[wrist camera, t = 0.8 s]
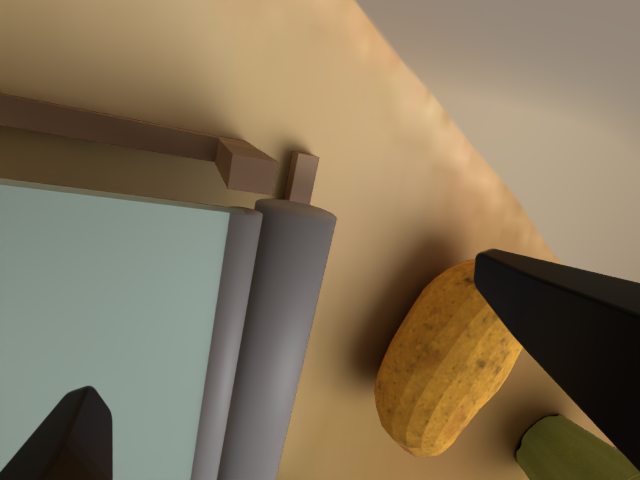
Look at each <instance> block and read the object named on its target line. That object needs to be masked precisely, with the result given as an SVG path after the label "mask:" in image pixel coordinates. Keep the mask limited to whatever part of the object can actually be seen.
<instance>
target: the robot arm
mask: <svg viewBox="0 0 640 480" xmlns="http://www.w3.org/2000/svg"><path fill="white" fill-rule="evenodd" d="M473 280H474V284H475V287H476V288H477V290H478V291H479V293H480V294H481V295H482V297H483V298H484V299H485V300H486V302H487V303H488V304H489V306H490V307H491V308H492V310H493V311H494V312H495V314H496V315H497V316H498V317H499V319H500V320H501V321H502V323H503V324H504V325H505V327H506V328H507V329H508V330H509V332H510V333H511V334H512V335H513V336H514V338H515V339H516V340H517V341H518V342H519V343H520V344H521V345H522V346H523V348H524V349H525V350H526V351H527V352H528V353H529V354H530V355H531V356H532V357H533V358H534V359H535V360H536V361H537V363H538V364H539V365H540V366H541V367H542V368H543V369H544V370H545V371H546V372H547V373H548V374H549V375H550V376H551V378H552V379H553V380H554V381H555V382H556V383H557V384H558V385H559V386H560V387H561V388H562V389H563V390H564V391H565V393H566V394H567V395H568V396H569V397H570V398H571V399H572V400H573V401H574V402H575V403H576V404H577V405H578V406H579V408H580V409H581V410H582V411H583V412H584V413H585V414H586V415H587V416H588V417H589V418H590V419H591V420H592V421H593V423H594V424H595V425H596V426H597V427H598V428H599V429H600V430H601V431H602V432H603V433H604V434H605V435H606V436H607V438H608V439H609V440H610V441H611V442H612V443H613V444H614V445H615V446H616V447H617V448H618V449H619V450H620V452H621V453H622V454H623V455H624V456H625V457H626V458H627V459H628V460H629V461H630V462H631V463H632V464H633V465H634V467H635V468H636V469H637V470H638V471H639V472H640V283H637V282H633V281H628V280H624V279H620V278H616V277H611V276H607V275H603V274H599V273H595V272H590V271H586V270H581V269H578V268H573V267H569V266H565V265H561V264H557V263H552V262H548V261H544V260H540V259H535V258H531V257H527V256H523V255H519V254H514V253H510V252H506V251H502V250H497V249H488V250H485V251H483V252H480V253H478V254H477V255H476V258H475V267H474V277H473ZM0 480H113V420H112V414H111V411H110V409H109V407H108V406H107V405H106V403H105V402H104V400H103V399H102V398H101V396H100V395H99V393H98V392H97V390H96V389H95V388H94V387H93V386H84V387H81V388H78V389H75V390H72V391H70V392H68V393H67V394H66V395H65V396H64V397H63V398H62V399H61V400H60V401H59V403H58V404H57V405H56V406H55V407H54V408H53V410H52V411H51V412H50V413H49V414H48V416H47V417H46V418H45V419H44V420H43V422H42V423H41V424H40V425H39V426H38V427H37V429H36V430H35V431H34V432H33V433H32V435H31V436H30V437H29V438H28V439H27V441H26V442H25V443H24V444H23V445H22V446H21V448H20V449H19V450H18V451H17V452H16V454H15V455H14V456H13V457H12V458H11V460H10V461H9V462H8V463H7V464H6V465H5V467H4V468H3V469H2V470H1V471H0Z"/></svg>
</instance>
